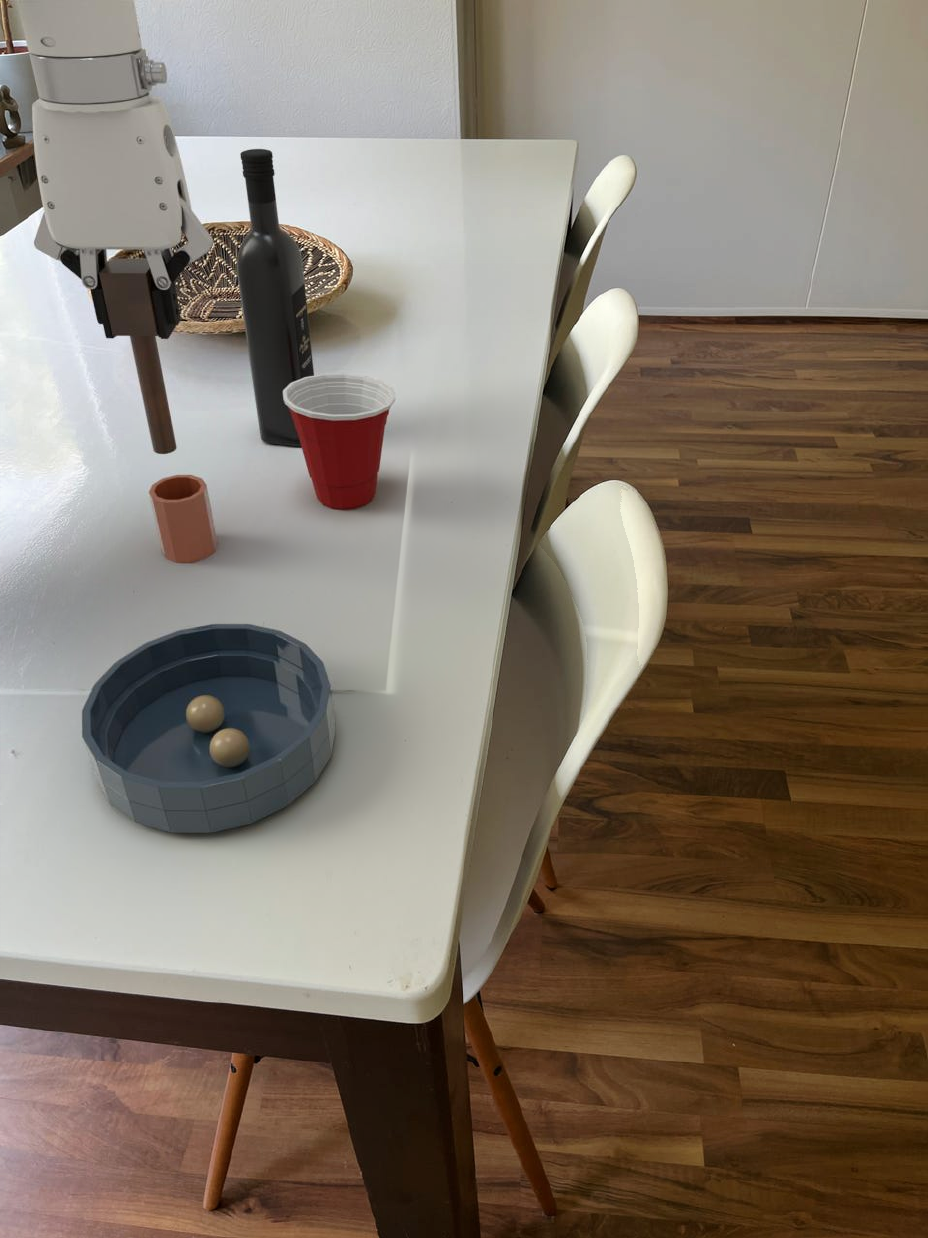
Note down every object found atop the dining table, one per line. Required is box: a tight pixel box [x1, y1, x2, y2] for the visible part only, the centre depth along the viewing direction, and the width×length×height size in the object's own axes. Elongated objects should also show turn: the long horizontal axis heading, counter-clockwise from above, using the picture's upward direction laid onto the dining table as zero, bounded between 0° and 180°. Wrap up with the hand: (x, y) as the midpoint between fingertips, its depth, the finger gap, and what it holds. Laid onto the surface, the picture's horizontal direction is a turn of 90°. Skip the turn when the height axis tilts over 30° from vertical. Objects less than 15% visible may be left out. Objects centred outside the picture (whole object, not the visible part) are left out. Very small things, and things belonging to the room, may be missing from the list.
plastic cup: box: [283, 373, 397, 511], centre depth 98 cm, size 11×11×12 cm
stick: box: [99, 258, 178, 455], centre depth 82 cm, size 4×4×16 cm
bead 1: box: [186, 695, 225, 733], centre depth 73 cm, size 3×3×3 cm
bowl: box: [81, 623, 336, 834], centre depth 72 cm, size 17×17×5 cm
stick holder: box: [148, 474, 218, 564], centre depth 92 cm, size 5×5×7 cm
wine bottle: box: [236, 148, 315, 447], centre depth 104 cm, size 6×6×30 cm
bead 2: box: [210, 728, 250, 768], centre depth 71 cm, size 3×3×3 cm
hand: (141, 330), depth 81 cm, fingers closed on stick, 3 cm apart
